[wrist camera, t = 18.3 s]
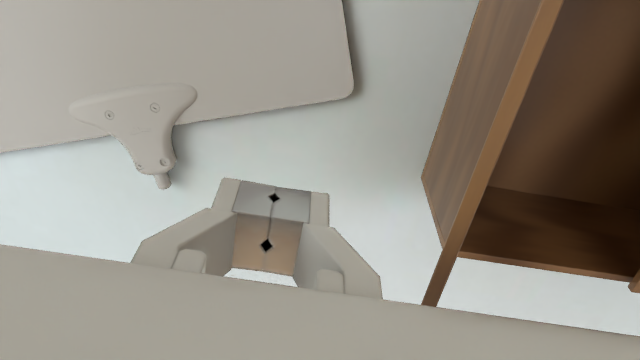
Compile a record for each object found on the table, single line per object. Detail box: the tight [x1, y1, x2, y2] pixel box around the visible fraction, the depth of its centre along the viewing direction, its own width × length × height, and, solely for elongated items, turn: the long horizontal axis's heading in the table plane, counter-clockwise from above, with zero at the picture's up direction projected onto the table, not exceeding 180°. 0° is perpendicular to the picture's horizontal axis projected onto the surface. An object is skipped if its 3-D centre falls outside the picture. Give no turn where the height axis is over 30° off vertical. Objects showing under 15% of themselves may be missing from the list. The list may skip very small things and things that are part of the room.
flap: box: [421, 0, 564, 307], centre depth 17 cm, size 9×14×1 cm
